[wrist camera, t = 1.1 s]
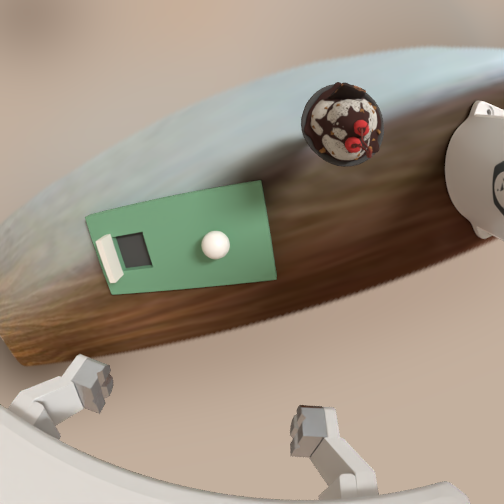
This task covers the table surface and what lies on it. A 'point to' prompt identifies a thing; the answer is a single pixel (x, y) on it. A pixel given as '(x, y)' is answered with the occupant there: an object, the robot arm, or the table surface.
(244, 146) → the table surface
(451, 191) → the robot arm
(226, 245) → the ball
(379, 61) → the table surface
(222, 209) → the green
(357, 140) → the sundae
